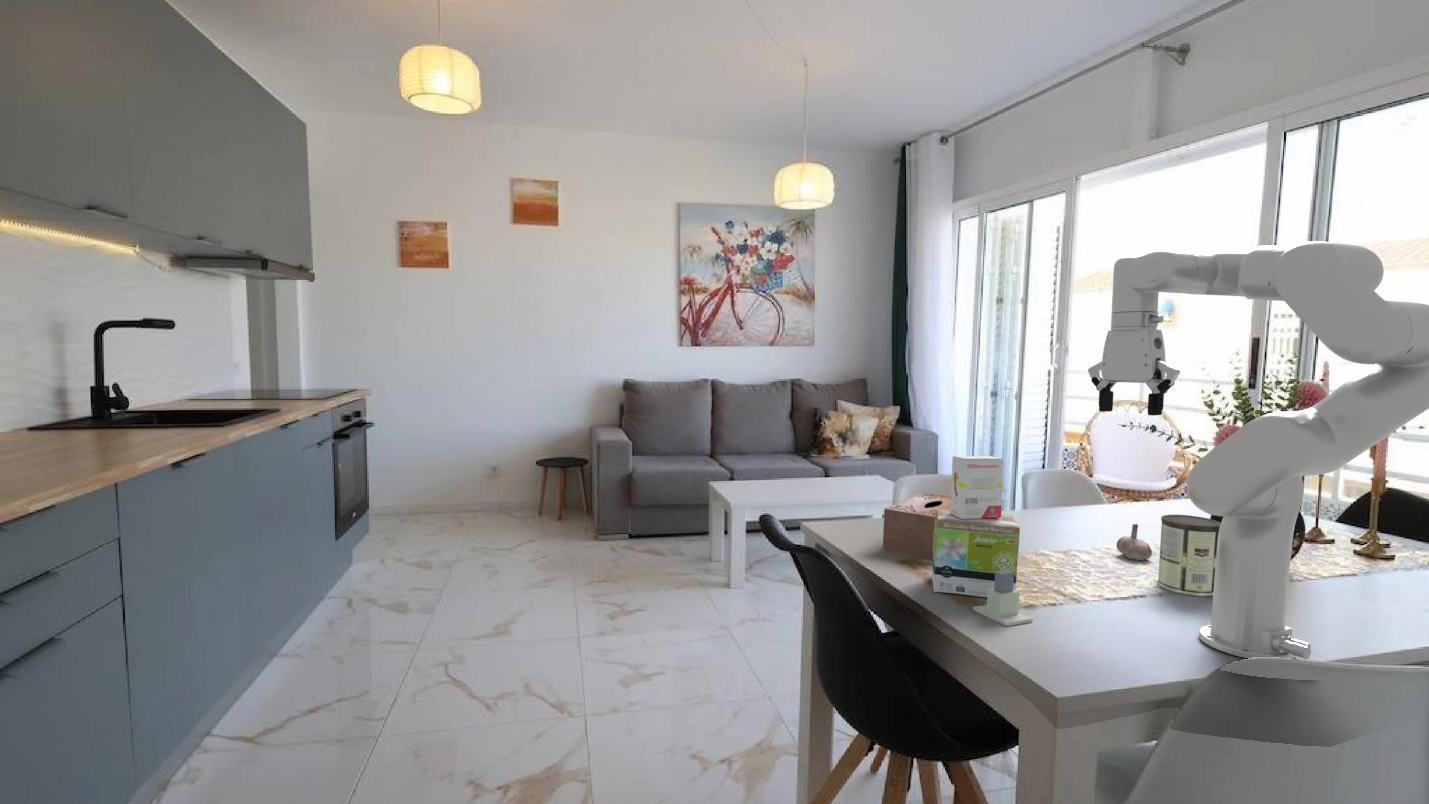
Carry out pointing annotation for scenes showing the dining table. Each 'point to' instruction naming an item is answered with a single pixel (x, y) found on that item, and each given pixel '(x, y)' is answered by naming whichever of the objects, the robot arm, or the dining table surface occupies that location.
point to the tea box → (972, 552)
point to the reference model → (1003, 601)
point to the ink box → (976, 487)
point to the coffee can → (1188, 554)
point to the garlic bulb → (1134, 546)
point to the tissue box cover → (913, 524)
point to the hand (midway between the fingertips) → (1129, 413)
